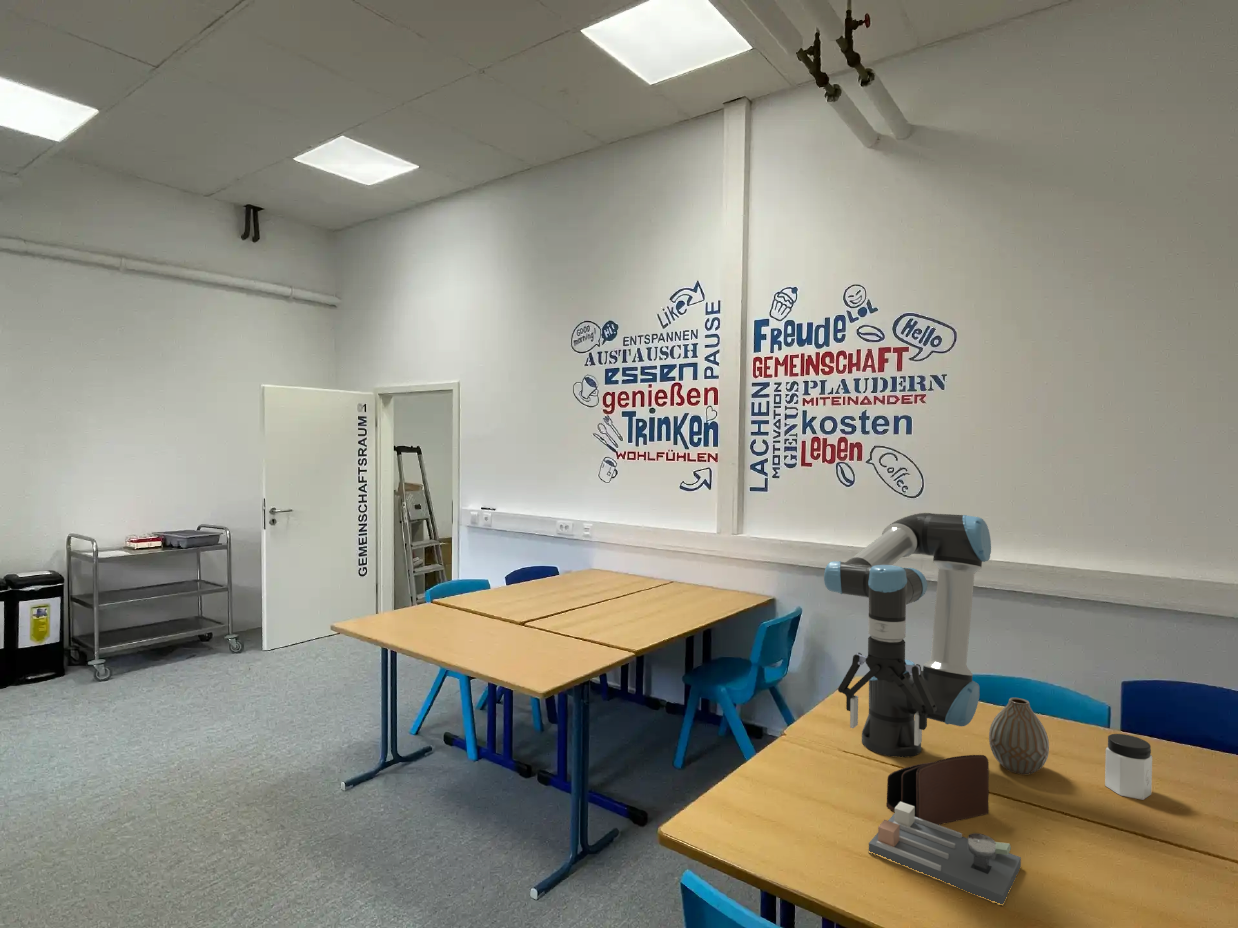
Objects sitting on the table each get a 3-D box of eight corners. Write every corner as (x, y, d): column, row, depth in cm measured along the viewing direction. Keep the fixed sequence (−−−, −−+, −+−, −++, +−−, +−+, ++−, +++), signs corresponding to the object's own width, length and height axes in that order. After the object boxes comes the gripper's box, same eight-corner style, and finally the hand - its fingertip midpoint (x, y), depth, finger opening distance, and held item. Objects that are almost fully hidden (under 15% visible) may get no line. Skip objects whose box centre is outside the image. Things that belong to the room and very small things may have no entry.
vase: (1038, 786, 162) (1039, 715, 161) (980, 767, 171) (981, 699, 171) (1055, 769, 170) (1057, 701, 170) (999, 751, 180) (1000, 687, 180)
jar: (1141, 803, 154) (1142, 751, 154) (1100, 788, 161) (1101, 738, 161) (1156, 792, 159) (1157, 742, 159) (1116, 778, 166) (1117, 730, 165)
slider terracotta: (878, 842, 135) (878, 826, 135) (884, 834, 138) (884, 819, 138) (893, 848, 133) (893, 832, 133) (899, 840, 136) (899, 824, 136)
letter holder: (989, 814, 150) (990, 752, 149) (918, 831, 143) (919, 765, 143) (953, 792, 159) (954, 734, 159) (885, 807, 153) (886, 746, 152)
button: (964, 864, 127) (965, 840, 127) (971, 853, 131) (971, 830, 131) (991, 874, 124) (992, 850, 124) (997, 863, 128) (998, 839, 128)
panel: (868, 852, 135) (868, 830, 135) (894, 821, 147) (895, 801, 146) (1002, 906, 119) (1003, 881, 119) (1020, 867, 131) (1021, 844, 131)
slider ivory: (894, 822, 142) (894, 807, 142) (900, 815, 145) (900, 801, 144) (909, 828, 140) (909, 812, 140) (914, 821, 143) (914, 806, 143)
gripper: (824, 630, 151) (822, 724, 151) (944, 652, 135) (942, 757, 135) (837, 624, 156) (835, 714, 157) (953, 644, 141) (951, 744, 141)
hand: (885, 734), depth 146 cm, fingers open, 13 cm apart
